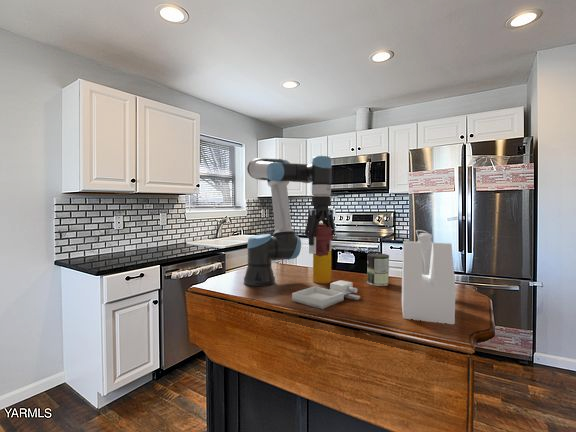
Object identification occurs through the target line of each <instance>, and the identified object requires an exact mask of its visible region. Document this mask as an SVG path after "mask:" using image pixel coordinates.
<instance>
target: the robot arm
mask: <svg viewBox="0 0 576 432" xmlns="http://www.w3.org/2000/svg"><path fill="white" fill-rule="evenodd" d="M332 168H333V167H332V158H331V157H330V156H328V155H327V156H326V155H315V156H313V157H312V161H311V163H309V164H307V163H290V161H288V159H287V160H286V159H282V158H269V157H268V158H265V157H257V158H254V159H252V160H250V161H249V163H248V164H247V167H246V169H247V174H248V175H249V176H250V177H251V178H253V179H256V180H259V181H267V186H269V188H270V191H271V203H272V210H273V211H272V213H273V220H274V221H273V222H274V232H273V233H272V234H271V233H266V234H265V233H263V234H262V233H261V234H256V235H253V236H250V237H249V238H248V239H247V269H246V271H245V275H244V277H243V284H244V285H246V286H251V287H267V286H272V285H274V284H275V283H276V278H275V277H276V276H274V270H273V267H272V261H283V260H288V261H289V260H294V259H297V258H298V256H300V253H301V250H302V249H301V247H302V241H301V239H300V237H299V236H298V235H296V231H295V230H294V229H293V228H292V218H291V211H290V202H289V193H288V186H289V183H290V182H293V183H294V182H295V183H304V184H310V183H311V195H312V197H311V206H312V207H313V209H308V213H307V214H308V215H307V221H306V227H305V230H304V231H305V232H304V235H305V236H306V237H307V238H308V237H309V238H308V254H311V255H313V254H316V237H314V236H315V234H316V231H317V228H318V225H319V224H320V223H321V222H322V224H326V226H328V227H332V232H331V234H332V235H335V233H336V229H335V228H336V227H335V223H334V222H335V221H334V210H333V209H330V208H329V207H331V204H332V197H331V195H332V173H333V172H332V171H333V170H332ZM332 240H333V239H332ZM332 240H330V248H329V251H331V246H332ZM331 252H332V251H331Z"/></svg>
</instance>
